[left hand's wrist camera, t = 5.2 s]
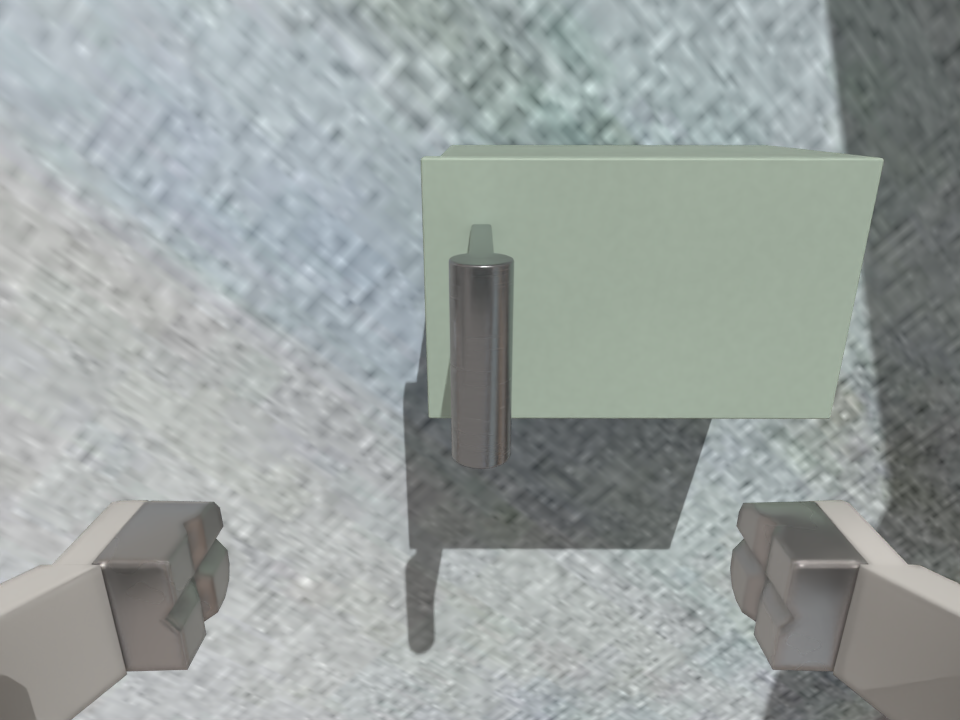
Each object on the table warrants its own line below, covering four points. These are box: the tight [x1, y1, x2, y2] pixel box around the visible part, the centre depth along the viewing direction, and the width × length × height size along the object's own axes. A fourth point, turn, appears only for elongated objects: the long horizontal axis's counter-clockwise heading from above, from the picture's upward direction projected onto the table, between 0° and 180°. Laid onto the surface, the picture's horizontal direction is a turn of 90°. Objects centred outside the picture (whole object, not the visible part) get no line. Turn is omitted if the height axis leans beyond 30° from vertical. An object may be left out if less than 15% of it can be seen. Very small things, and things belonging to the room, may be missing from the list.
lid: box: [421, 156, 884, 469], centre depth 21 cm, size 16×10×8 cm, turn 90°
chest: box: [441, 145, 868, 157], centre depth 29 cm, size 15×10×9 cm, turn 90°
